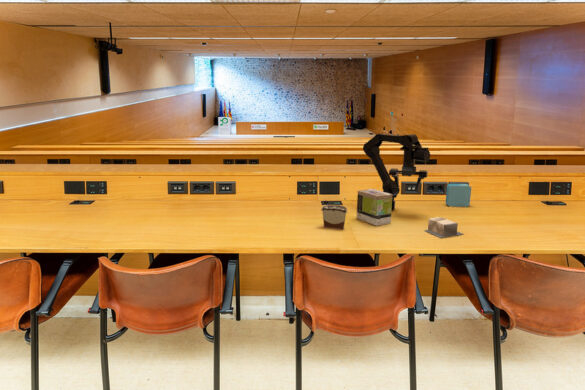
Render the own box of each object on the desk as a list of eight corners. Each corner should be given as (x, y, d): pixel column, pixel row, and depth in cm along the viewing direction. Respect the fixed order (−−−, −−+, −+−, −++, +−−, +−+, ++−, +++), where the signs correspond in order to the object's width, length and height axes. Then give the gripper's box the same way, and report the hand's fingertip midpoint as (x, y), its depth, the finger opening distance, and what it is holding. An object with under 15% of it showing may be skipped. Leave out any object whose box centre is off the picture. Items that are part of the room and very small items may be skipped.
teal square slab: (467, 204, 253) (469, 184, 250) (469, 207, 248) (471, 185, 245) (445, 204, 253) (447, 183, 250) (447, 206, 249) (449, 185, 246)
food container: (349, 226, 214) (350, 205, 211) (346, 230, 208) (347, 209, 206) (324, 223, 218) (324, 203, 215) (320, 227, 212) (321, 206, 210)
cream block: (428, 218, 208) (445, 225, 198) (440, 216, 211) (457, 223, 201) (427, 228, 209) (444, 236, 199) (439, 227, 212) (456, 234, 202)
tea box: (391, 223, 218) (393, 193, 215) (375, 226, 213) (377, 196, 210) (371, 215, 231) (372, 187, 227) (355, 218, 226) (356, 189, 222)
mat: (424, 231, 207) (424, 230, 207) (446, 227, 212) (446, 226, 212) (441, 238, 197) (441, 237, 197) (463, 234, 203) (463, 233, 202)
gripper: (387, 160, 224) (386, 191, 228) (426, 162, 217) (424, 194, 221) (391, 157, 234) (389, 186, 238) (428, 159, 228) (426, 189, 231)
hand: (407, 189), depth 232 cm, fingers open, 9 cm apart
